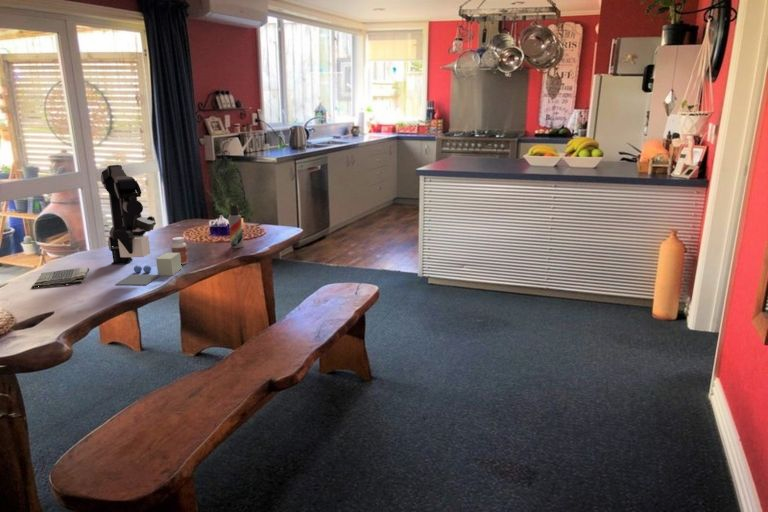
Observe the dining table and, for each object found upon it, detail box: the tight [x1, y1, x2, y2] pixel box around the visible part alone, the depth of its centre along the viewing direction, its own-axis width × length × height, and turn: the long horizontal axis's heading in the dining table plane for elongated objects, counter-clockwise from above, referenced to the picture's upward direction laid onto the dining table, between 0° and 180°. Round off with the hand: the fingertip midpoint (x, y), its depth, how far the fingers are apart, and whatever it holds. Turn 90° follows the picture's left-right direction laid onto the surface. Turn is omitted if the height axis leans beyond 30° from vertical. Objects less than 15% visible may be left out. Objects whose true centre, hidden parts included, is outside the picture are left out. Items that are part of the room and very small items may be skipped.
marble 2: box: [142, 265, 152, 274], centre depth 228 cm, size 3×3×3 cm
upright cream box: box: [118, 235, 151, 258], centre depth 216 cm, size 9×6×7 cm, turn 87°
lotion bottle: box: [228, 205, 244, 249], centre depth 265 cm, size 6×6×20 cm
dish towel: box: [31, 267, 90, 289], centre depth 221 cm, size 19×18×3 cm
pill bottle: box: [170, 236, 189, 265], centre depth 240 cm, size 6×6×11 cm
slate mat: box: [115, 274, 161, 286], centre depth 219 cm, size 12×12×1 cm
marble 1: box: [133, 264, 143, 274], centre depth 229 cm, size 3×3×3 cm
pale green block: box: [156, 252, 183, 277], centre depth 228 cm, size 9×6×7 cm, turn 177°
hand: (135, 251), depth 216 cm, fingers closed on upright cream box, 6 cm apart
